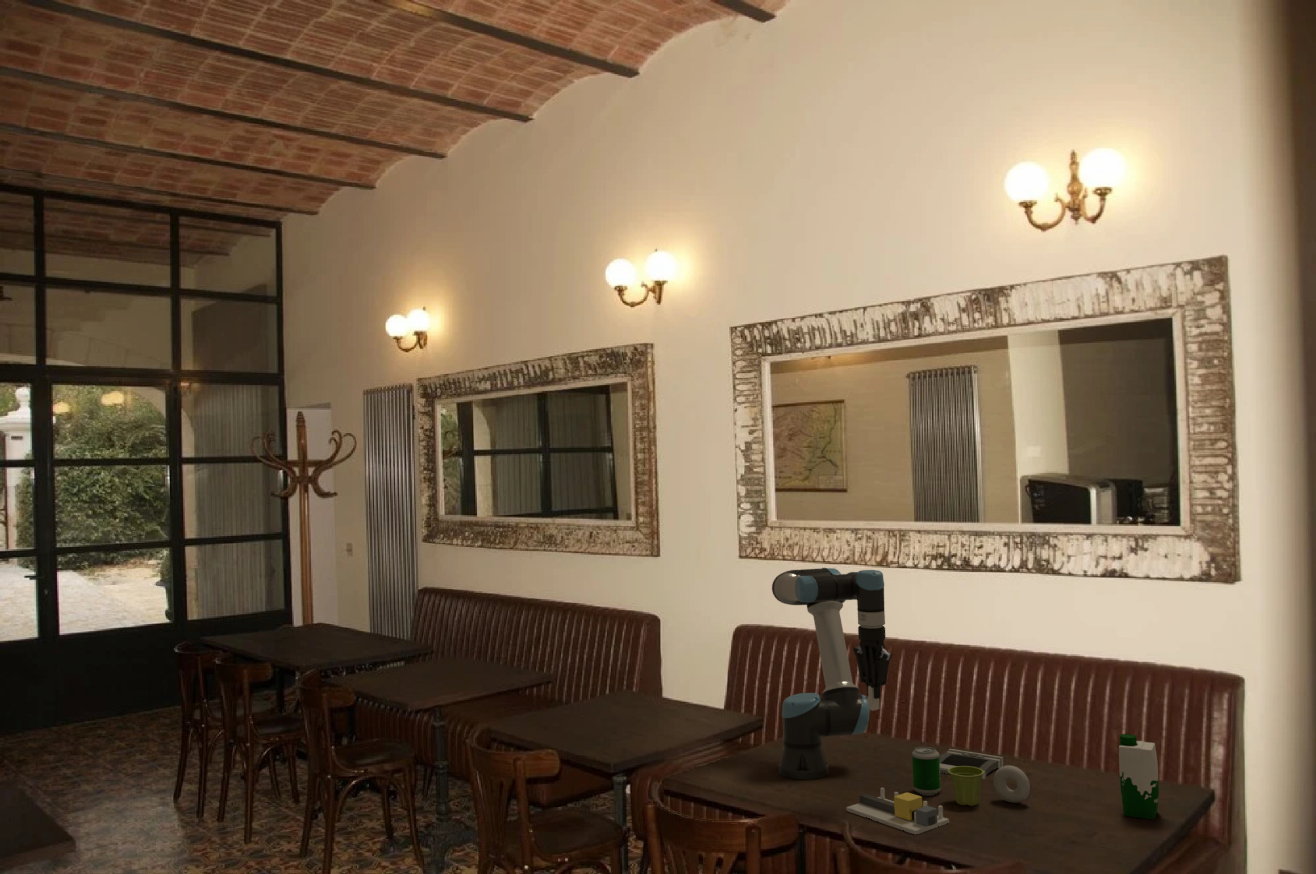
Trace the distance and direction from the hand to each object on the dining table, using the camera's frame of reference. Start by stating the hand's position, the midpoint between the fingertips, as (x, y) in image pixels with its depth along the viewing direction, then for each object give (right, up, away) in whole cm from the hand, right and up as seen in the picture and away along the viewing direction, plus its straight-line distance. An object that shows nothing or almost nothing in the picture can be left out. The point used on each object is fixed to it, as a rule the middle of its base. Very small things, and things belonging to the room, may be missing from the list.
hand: (874, 709), depth 286 cm
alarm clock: (+33, -25, +24) cm, 48 cm away
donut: (+36, -24, -8) cm, 44 cm away
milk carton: (+66, -22, -20) cm, 72 cm away
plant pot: (+24, -24, -7) cm, 35 cm away
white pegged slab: (+3, -24, -16) cm, 29 cm away
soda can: (+16, -25, +3) cm, 30 cm away
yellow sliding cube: (+5, -23, -20) cm, 30 cm away
